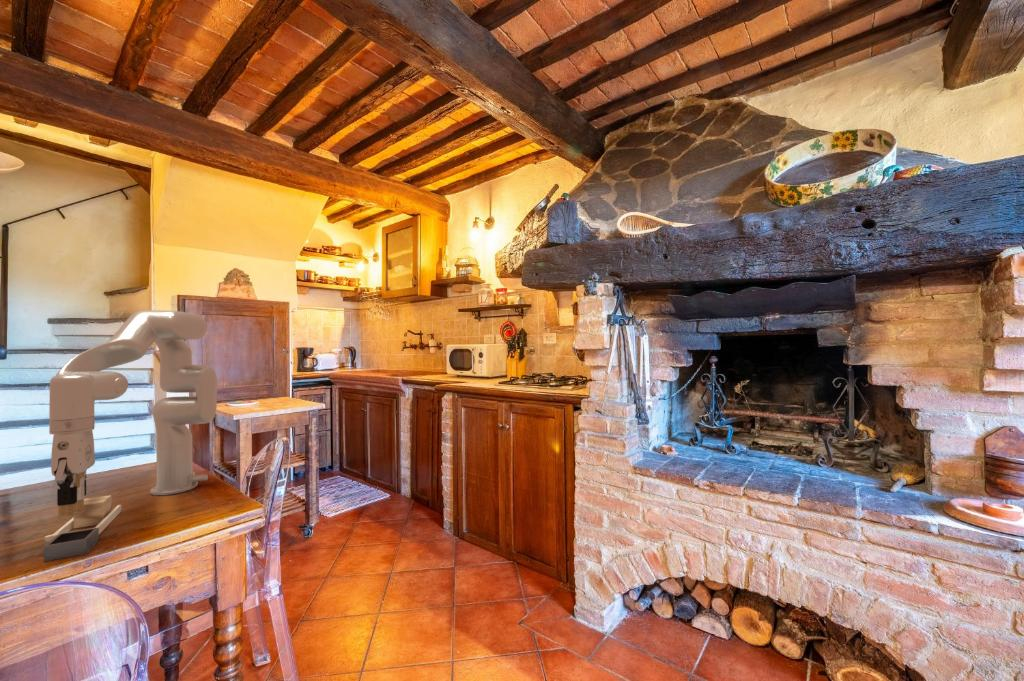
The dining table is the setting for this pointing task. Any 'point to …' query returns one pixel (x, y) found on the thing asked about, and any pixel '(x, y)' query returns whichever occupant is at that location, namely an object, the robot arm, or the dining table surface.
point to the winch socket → (71, 544)
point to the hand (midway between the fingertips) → (72, 499)
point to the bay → (70, 525)
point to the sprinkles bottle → (79, 505)
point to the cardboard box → (93, 511)
